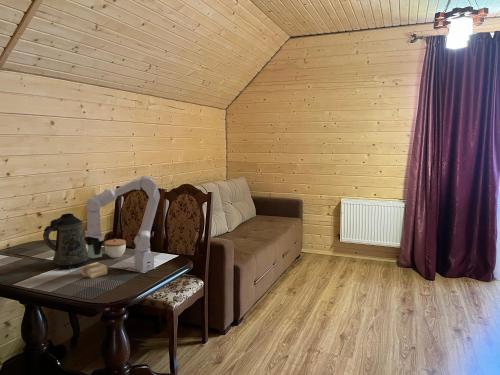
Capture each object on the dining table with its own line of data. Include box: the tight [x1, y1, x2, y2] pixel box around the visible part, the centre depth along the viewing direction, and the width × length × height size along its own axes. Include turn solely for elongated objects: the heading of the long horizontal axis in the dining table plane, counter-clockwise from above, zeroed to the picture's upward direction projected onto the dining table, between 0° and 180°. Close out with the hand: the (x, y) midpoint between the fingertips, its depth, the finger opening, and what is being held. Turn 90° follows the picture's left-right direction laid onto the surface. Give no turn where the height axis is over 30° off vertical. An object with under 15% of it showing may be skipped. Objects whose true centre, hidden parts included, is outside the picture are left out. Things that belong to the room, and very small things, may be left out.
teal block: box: [87, 244, 103, 259], centre depth 180 cm, size 4×4×5 cm
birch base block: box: [80, 262, 108, 279], centre depth 181 cm, size 8×8×4 cm
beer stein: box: [42, 212, 91, 270], centre depth 190 cm, size 16×19×25 cm
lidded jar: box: [103, 237, 127, 259], centre depth 207 cm, size 11×11×9 cm
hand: (94, 253), depth 180 cm, fingers closed on teal block, 4 cm apart
